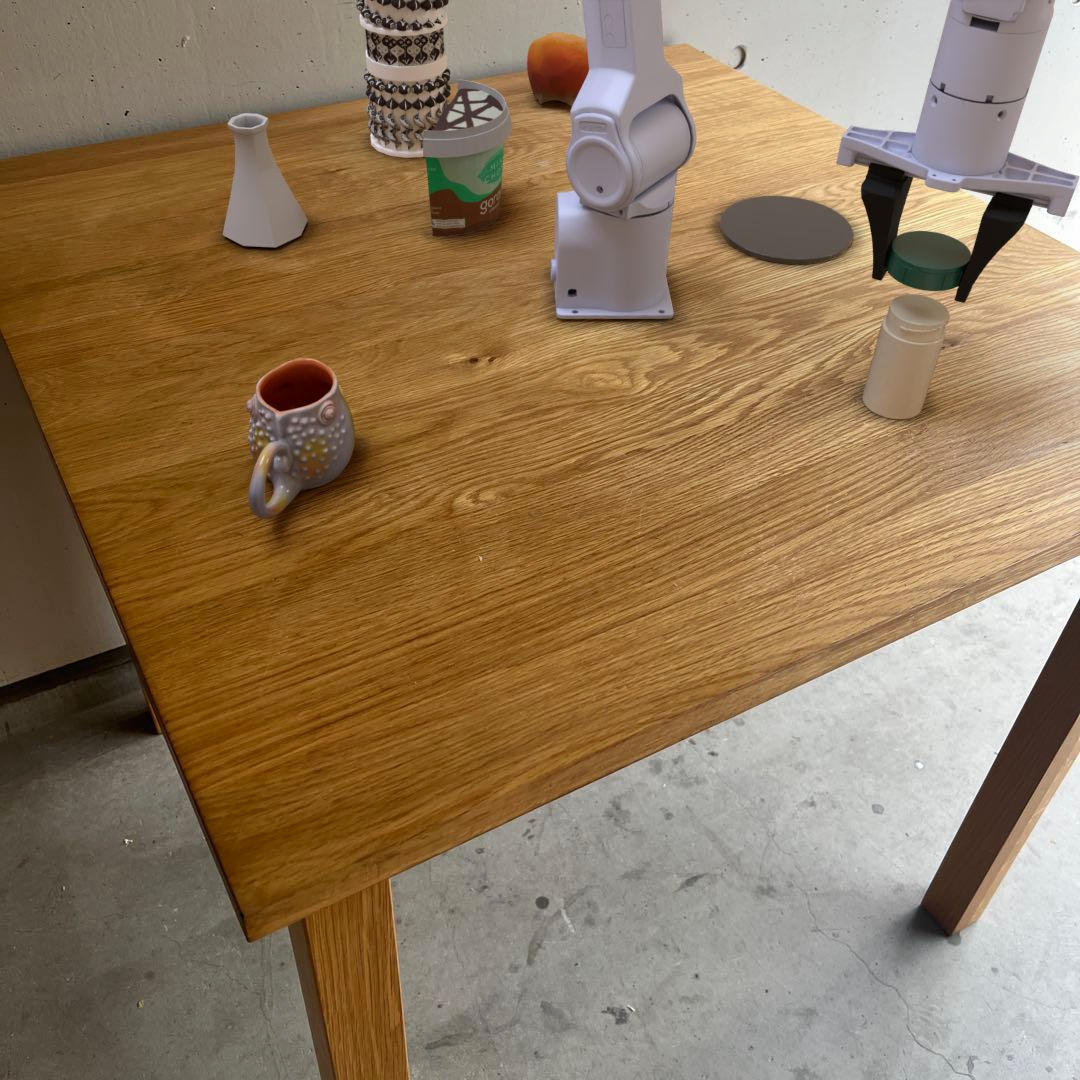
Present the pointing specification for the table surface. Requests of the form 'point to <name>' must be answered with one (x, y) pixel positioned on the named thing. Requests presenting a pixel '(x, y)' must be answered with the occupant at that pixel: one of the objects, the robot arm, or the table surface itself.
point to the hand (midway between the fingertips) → (920, 284)
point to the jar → (905, 356)
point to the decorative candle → (404, 72)
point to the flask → (259, 190)
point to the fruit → (557, 66)
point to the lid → (927, 260)
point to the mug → (297, 433)
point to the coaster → (786, 230)
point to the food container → (467, 160)
